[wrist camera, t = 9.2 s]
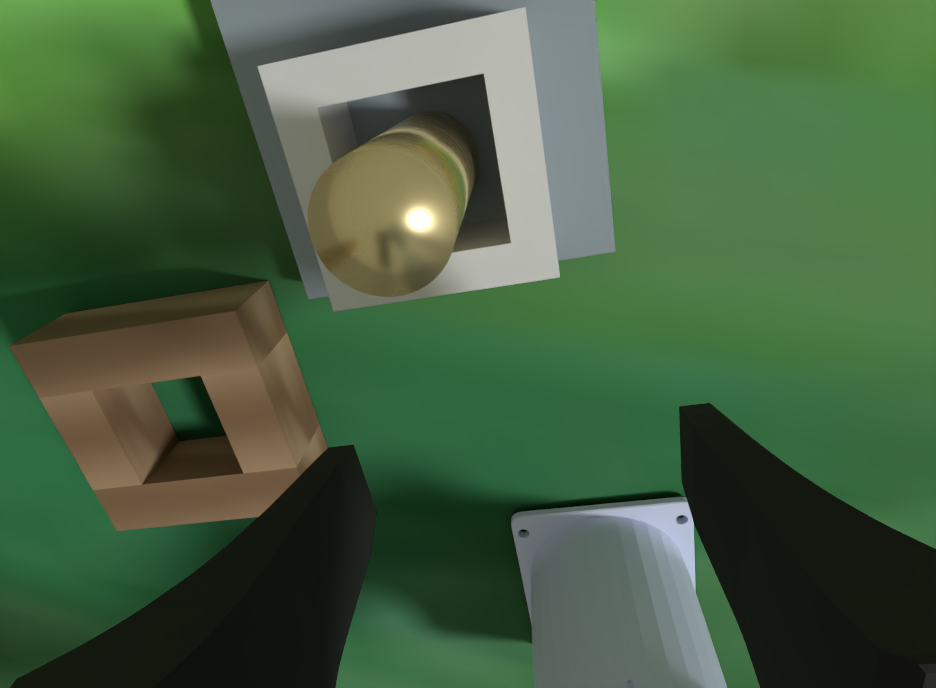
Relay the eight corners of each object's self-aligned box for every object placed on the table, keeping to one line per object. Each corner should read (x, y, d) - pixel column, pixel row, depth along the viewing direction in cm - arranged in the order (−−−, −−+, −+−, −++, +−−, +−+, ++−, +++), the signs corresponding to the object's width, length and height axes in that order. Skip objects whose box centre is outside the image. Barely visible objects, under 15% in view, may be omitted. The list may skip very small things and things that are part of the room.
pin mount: (334, 465, 27) (313, 511, 24) (155, 485, 28) (117, 531, 25) (268, 280, 23) (235, 310, 20) (65, 313, 24) (8, 346, 21)
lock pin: (483, 202, 19) (465, 290, 12) (395, 212, 20) (326, 302, 13) (472, 105, 18) (444, 139, 11) (378, 117, 18) (290, 158, 11)
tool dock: (609, 239, 21) (644, 309, 15) (320, 284, 23) (253, 364, 17) (554, -392, 14) (579, -695, 9) (148, -263, 16) (-63, -444, 10)
